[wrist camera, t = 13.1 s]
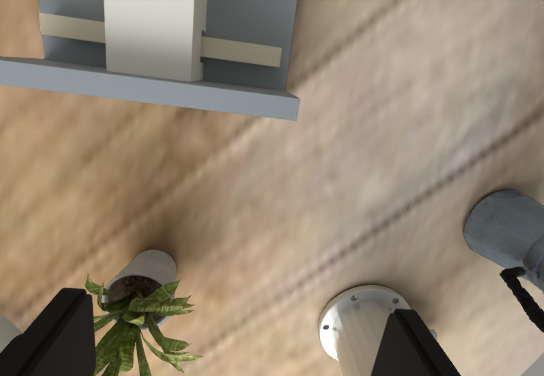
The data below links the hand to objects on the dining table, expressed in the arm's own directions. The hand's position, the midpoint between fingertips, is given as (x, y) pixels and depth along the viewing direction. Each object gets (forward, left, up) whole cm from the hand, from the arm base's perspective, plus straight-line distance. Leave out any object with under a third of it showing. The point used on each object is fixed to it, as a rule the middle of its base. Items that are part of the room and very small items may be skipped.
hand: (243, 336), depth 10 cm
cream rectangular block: (+8, -13, -25) cm, 29 cm away
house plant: (+9, +17, -26) cm, 33 cm away
